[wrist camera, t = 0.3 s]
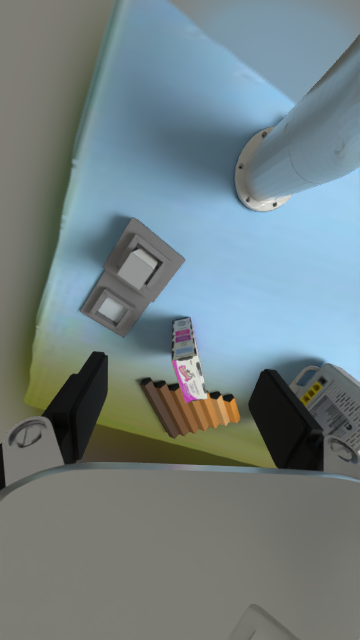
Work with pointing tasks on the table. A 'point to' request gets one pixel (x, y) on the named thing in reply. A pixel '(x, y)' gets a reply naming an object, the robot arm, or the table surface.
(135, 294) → the stepped socket base
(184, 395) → the candy bar box
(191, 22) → the table surface
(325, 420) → the network device
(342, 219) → the table surface
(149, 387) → the pan flute
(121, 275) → the plug
